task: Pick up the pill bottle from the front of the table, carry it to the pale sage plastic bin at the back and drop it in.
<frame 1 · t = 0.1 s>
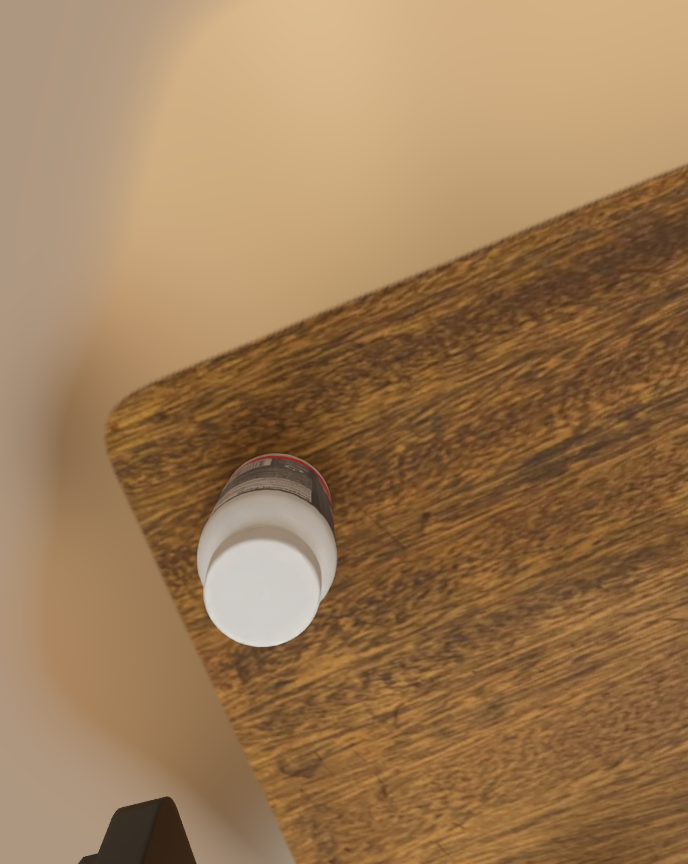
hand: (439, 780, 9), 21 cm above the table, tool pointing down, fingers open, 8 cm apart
pill bottle: (278, 502, 30), on the table
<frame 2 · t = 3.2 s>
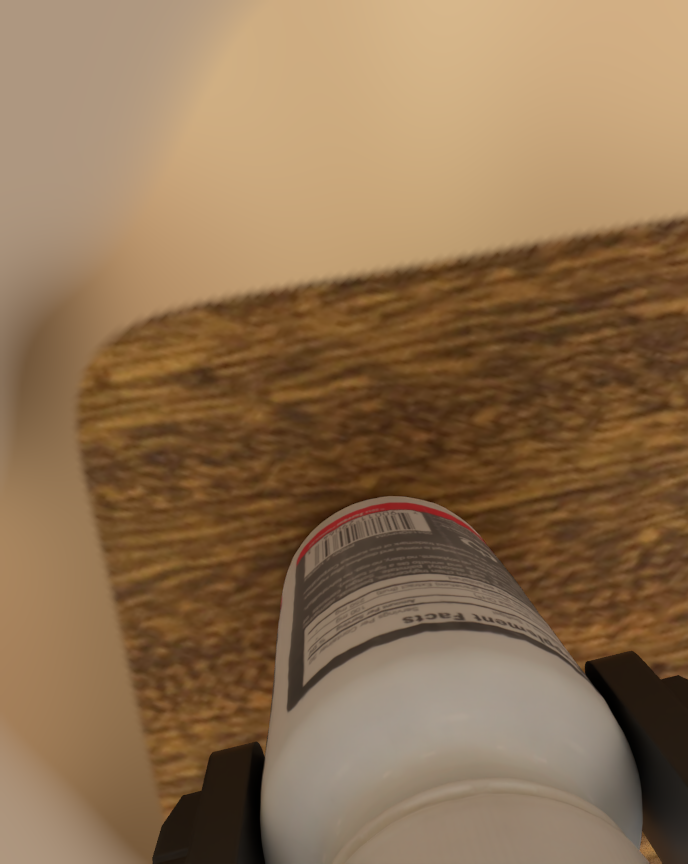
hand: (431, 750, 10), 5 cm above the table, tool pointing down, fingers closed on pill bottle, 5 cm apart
pill bottle: (390, 590, 16), on the table, touching gripper
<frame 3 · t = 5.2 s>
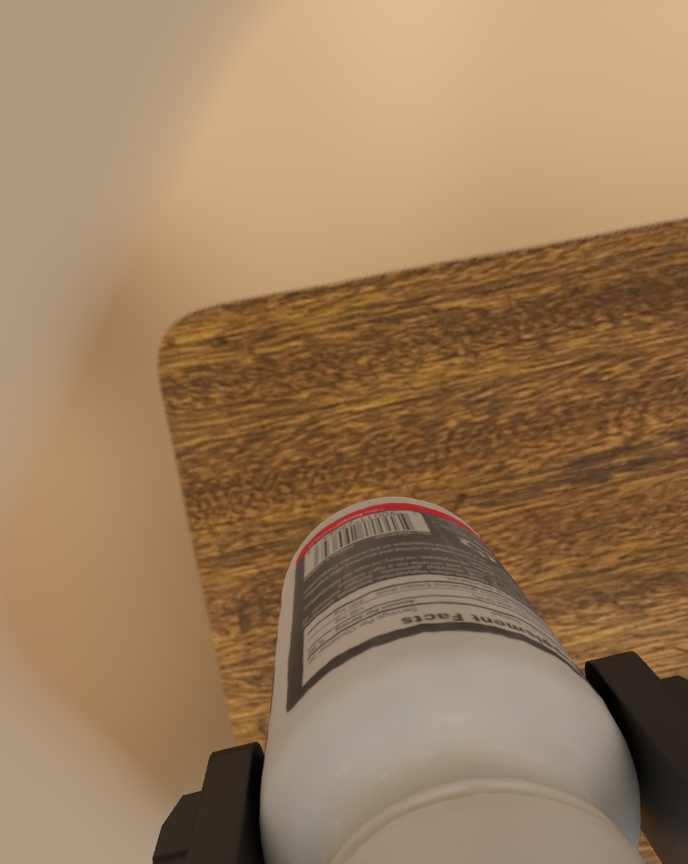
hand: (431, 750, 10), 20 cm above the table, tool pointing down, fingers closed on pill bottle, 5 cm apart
pill bottle: (389, 590, 16), point 14 cm above the table, touching gripper
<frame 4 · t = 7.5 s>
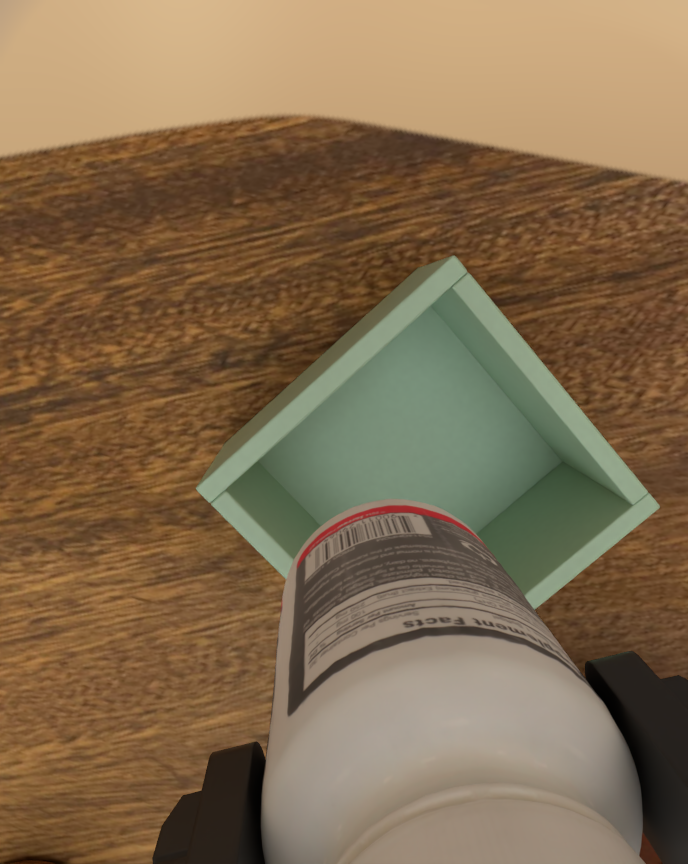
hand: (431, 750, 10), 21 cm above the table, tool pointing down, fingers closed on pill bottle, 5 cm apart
bowl: (533, 825, 36), on the table
pill bottle: (390, 592, 16), point 15 cm above the table, touching gripper
bin: (404, 451, 31), on the table
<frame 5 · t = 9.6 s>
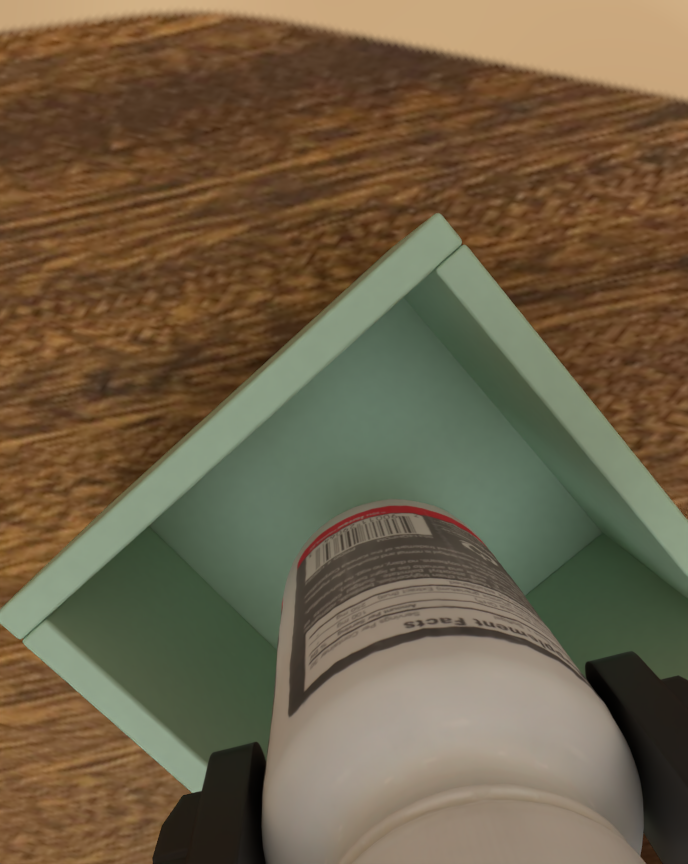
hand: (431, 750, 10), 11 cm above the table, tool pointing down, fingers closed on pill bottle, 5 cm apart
pill bottle: (390, 593, 16), point 6 cm above the table, touching gripper
bin: (372, 516, 21), on the table
when the fingers open (6 cm above the table, at t = 11.7 s): pill bottle stays where it is, resting on bin.
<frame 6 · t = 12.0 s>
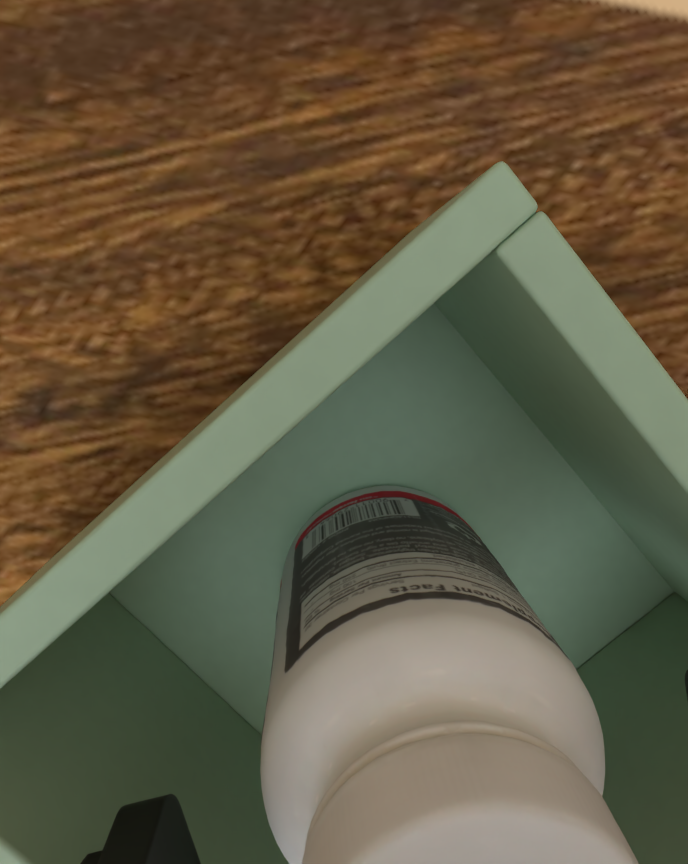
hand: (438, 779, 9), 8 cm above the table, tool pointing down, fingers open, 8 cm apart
pill bottle: (383, 575, 16), resting on bin
bin: (385, 571, 17), on the table
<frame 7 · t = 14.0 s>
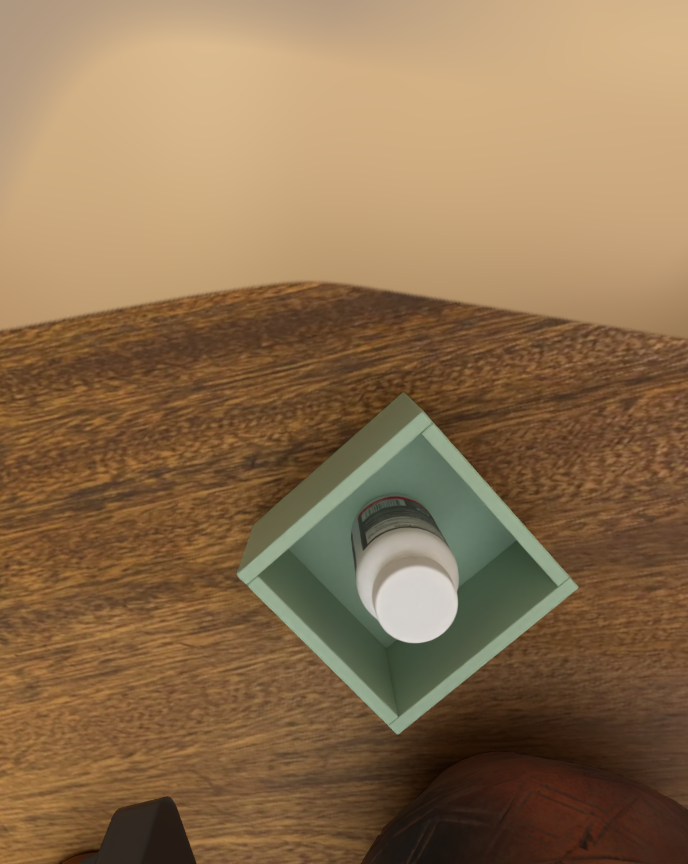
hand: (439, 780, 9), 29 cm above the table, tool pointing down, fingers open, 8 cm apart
bowl: (500, 829, 44), on the table
pill bottle: (392, 532, 39), resting on bin
bin: (393, 530, 39), on the table
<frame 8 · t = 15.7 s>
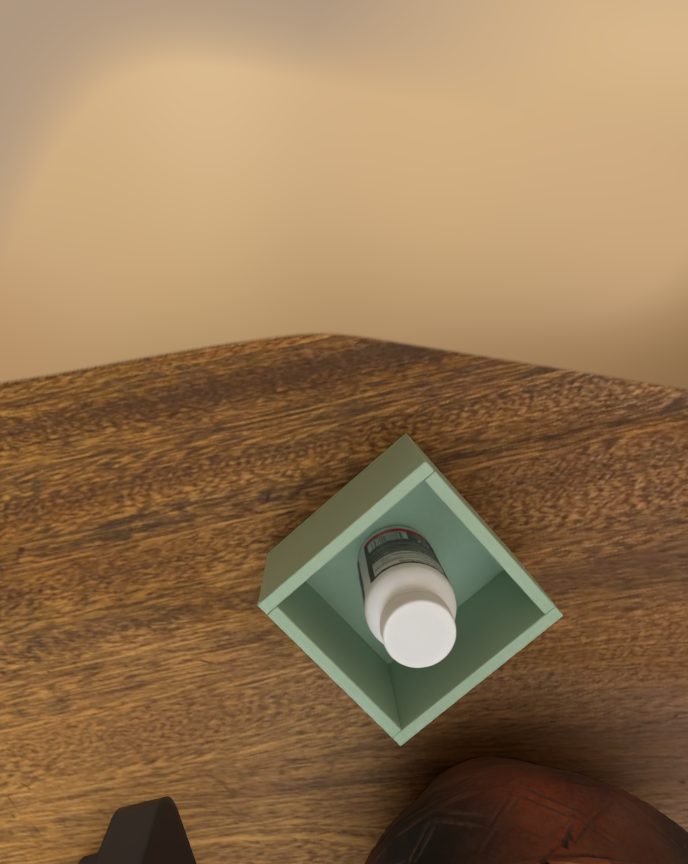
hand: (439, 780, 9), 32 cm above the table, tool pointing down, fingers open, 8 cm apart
bowl: (491, 826, 48), on the table
pill bottle: (395, 559, 42), resting on bin
bin: (395, 558, 43), on the table
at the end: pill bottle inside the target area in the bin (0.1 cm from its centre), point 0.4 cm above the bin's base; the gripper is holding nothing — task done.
